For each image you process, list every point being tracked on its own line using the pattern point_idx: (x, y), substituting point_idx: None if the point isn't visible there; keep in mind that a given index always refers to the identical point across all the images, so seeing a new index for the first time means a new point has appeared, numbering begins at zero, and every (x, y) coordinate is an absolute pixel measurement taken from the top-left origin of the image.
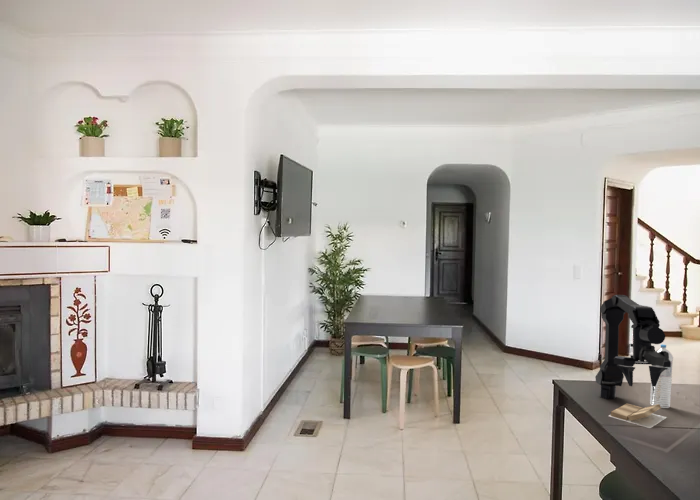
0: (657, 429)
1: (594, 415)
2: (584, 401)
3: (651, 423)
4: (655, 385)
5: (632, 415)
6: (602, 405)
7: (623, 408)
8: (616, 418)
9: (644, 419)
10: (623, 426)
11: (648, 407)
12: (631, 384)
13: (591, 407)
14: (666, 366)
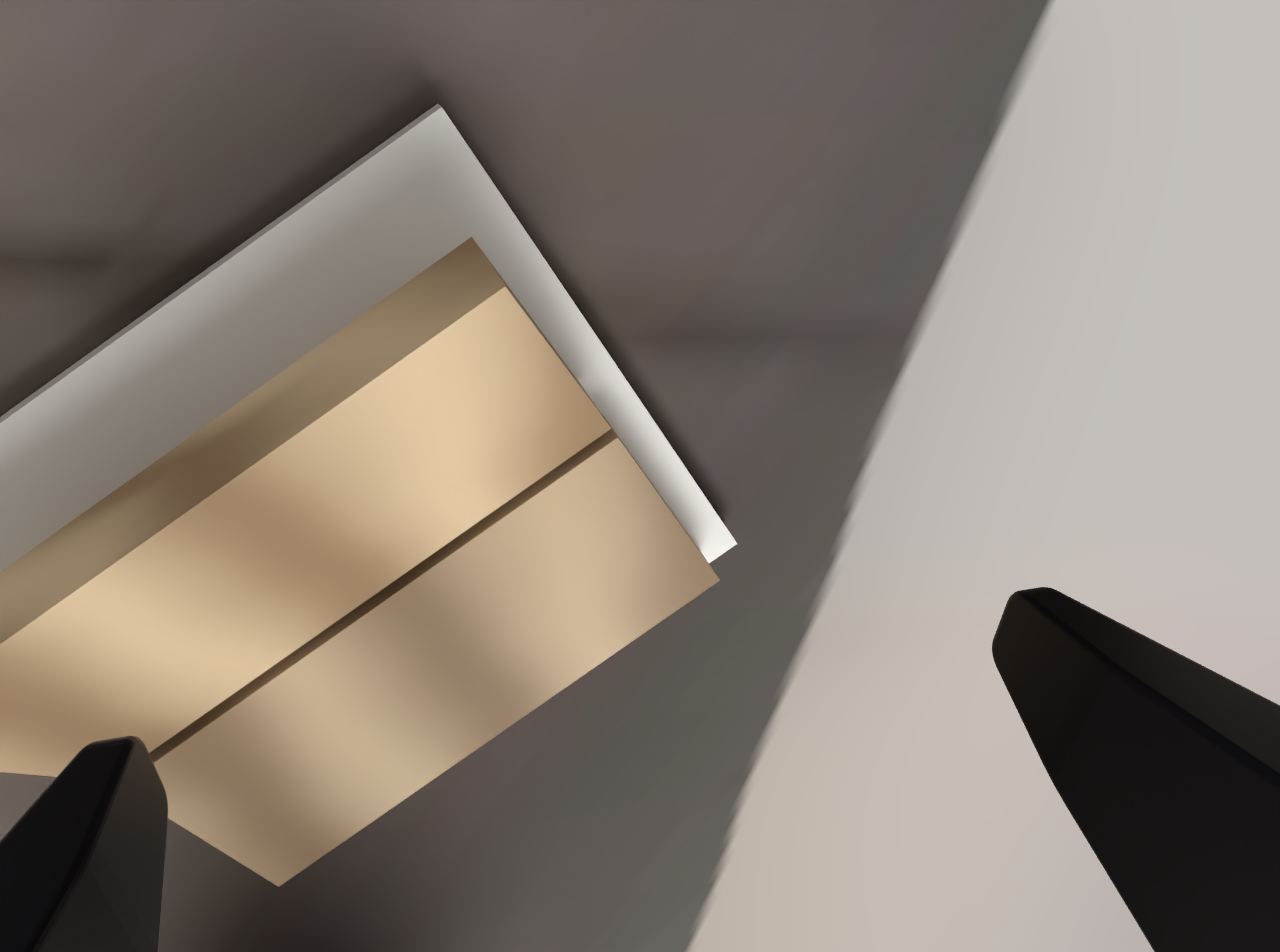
0: (252, 168)
1: (805, 602)
2: (634, 935)
3: (279, 305)
4: (78, 772)
5: (585, 394)
6: (510, 879)
7: (460, 709)
8: (688, 475)
9: None
10: (709, 293)
11: (99, 695)
12: (1090, 614)
13: (674, 805)
14: None
